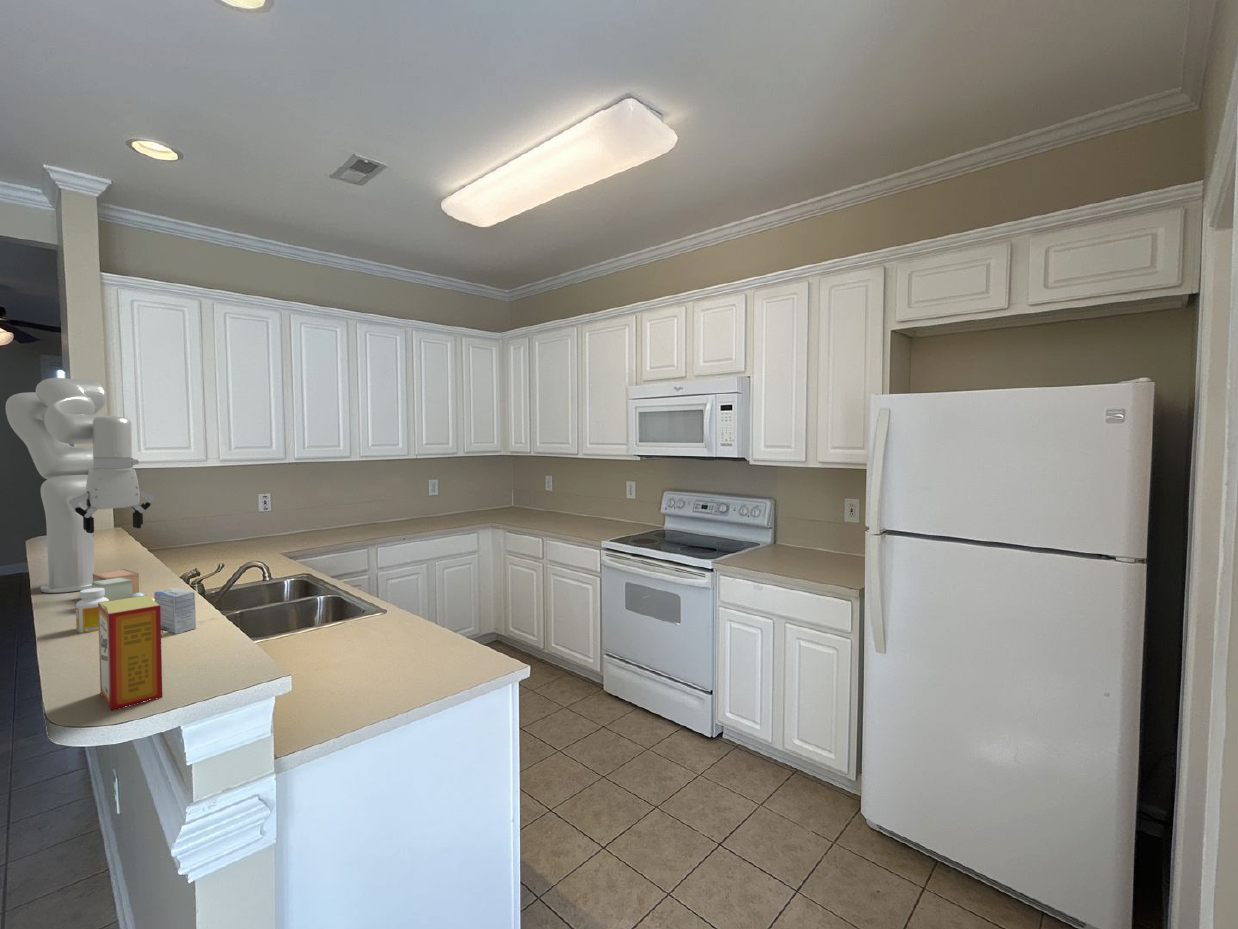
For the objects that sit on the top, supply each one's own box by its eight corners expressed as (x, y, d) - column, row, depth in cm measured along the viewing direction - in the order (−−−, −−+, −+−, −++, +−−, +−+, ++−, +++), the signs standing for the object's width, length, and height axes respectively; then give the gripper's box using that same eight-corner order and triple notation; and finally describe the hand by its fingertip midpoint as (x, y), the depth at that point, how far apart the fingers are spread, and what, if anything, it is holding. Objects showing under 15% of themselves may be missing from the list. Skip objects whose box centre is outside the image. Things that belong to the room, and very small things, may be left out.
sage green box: (92, 606, 142) (91, 581, 142) (122, 600, 147) (122, 577, 147) (101, 610, 139) (101, 585, 139) (132, 604, 144) (132, 580, 144)
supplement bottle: (116, 630, 129) (115, 587, 129) (92, 638, 124) (91, 593, 123) (94, 629, 130) (93, 586, 129) (69, 637, 124) (68, 592, 124)
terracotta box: (93, 596, 150) (92, 573, 150) (124, 591, 156) (124, 569, 156) (107, 602, 146) (106, 578, 145) (139, 596, 151) (138, 573, 151)
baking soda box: (100, 693, 98) (97, 600, 97) (149, 681, 103) (147, 592, 102) (111, 711, 92) (108, 612, 91) (162, 697, 97) (160, 603, 96)
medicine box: (196, 629, 131) (196, 591, 130) (174, 635, 127) (174, 596, 126) (176, 623, 134) (175, 586, 134) (154, 629, 130) (153, 591, 130)
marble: (132, 608, 142) (127, 602, 144) (147, 605, 145) (141, 600, 146) (134, 597, 142) (128, 591, 143) (148, 594, 144) (143, 589, 146)
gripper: (147, 462, 159) (148, 524, 159) (62, 464, 144) (64, 532, 145) (159, 464, 155) (160, 527, 156) (73, 466, 140) (75, 536, 141)
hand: (114, 530), depth 150 cm, fingers open, 9 cm apart
